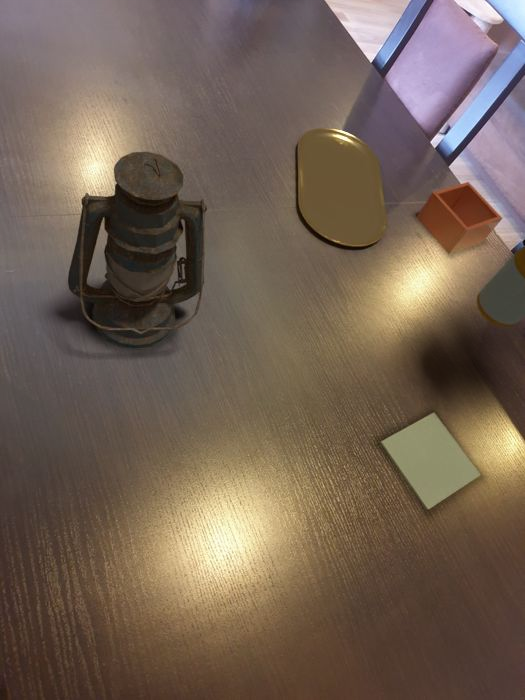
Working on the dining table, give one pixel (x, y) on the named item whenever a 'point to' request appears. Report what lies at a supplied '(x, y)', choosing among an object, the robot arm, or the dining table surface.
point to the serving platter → (340, 188)
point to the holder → (447, 223)
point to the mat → (430, 460)
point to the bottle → (505, 293)
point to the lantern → (140, 252)
